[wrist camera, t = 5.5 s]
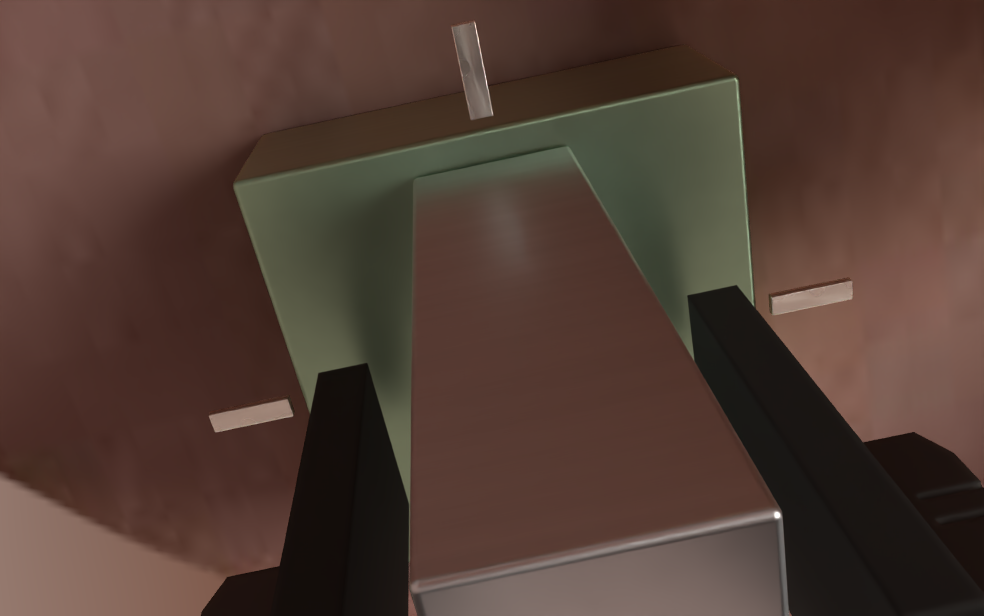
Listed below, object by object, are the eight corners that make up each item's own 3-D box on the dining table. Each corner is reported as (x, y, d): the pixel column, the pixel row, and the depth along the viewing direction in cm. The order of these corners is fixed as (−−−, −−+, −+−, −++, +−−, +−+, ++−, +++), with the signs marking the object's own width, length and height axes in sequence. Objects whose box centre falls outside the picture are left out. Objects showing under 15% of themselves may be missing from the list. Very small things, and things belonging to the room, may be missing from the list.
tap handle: (412, 177, 14) (406, 615, 6) (570, 143, 14) (800, 534, 6) (497, 526, 17) (576, 1148, 9) (627, 499, 17) (831, 1098, 9)
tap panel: (144, 65, 16) (84, 105, 13) (768, -70, 16) (846, -59, 13) (319, 550, 21) (303, 656, 18) (796, 450, 20) (857, 542, 18)
